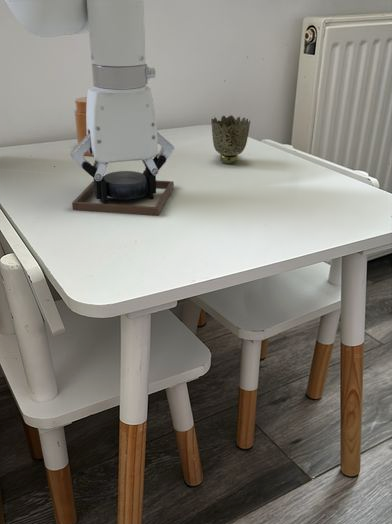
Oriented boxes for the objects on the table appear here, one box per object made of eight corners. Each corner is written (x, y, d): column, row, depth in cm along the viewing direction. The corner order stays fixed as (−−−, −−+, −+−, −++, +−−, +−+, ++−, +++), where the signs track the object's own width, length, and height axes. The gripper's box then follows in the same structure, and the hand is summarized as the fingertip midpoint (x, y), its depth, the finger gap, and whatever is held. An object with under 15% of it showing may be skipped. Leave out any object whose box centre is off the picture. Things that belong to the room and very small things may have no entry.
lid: (132, 202, 84) (131, 187, 83) (94, 194, 87) (93, 179, 86) (156, 189, 90) (156, 175, 88) (120, 182, 92) (119, 168, 91)
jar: (74, 155, 112) (68, 101, 107) (83, 147, 118) (79, 95, 112) (105, 156, 112) (101, 103, 106) (113, 148, 117) (110, 97, 111)
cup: (225, 169, 106) (227, 125, 101) (202, 160, 111) (203, 117, 106) (255, 163, 109) (258, 120, 105) (231, 155, 114) (233, 113, 110)
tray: (73, 215, 85) (71, 202, 84) (98, 188, 96) (97, 176, 94) (158, 221, 83) (158, 208, 82) (173, 193, 94) (173, 181, 93)
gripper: (168, 71, 85) (169, 188, 95) (53, 76, 79) (67, 199, 89) (186, 79, 79) (185, 202, 89) (63, 85, 73) (77, 215, 83)
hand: (126, 199), depth 89 cm, fingers closed on lid, 6 cm apart
